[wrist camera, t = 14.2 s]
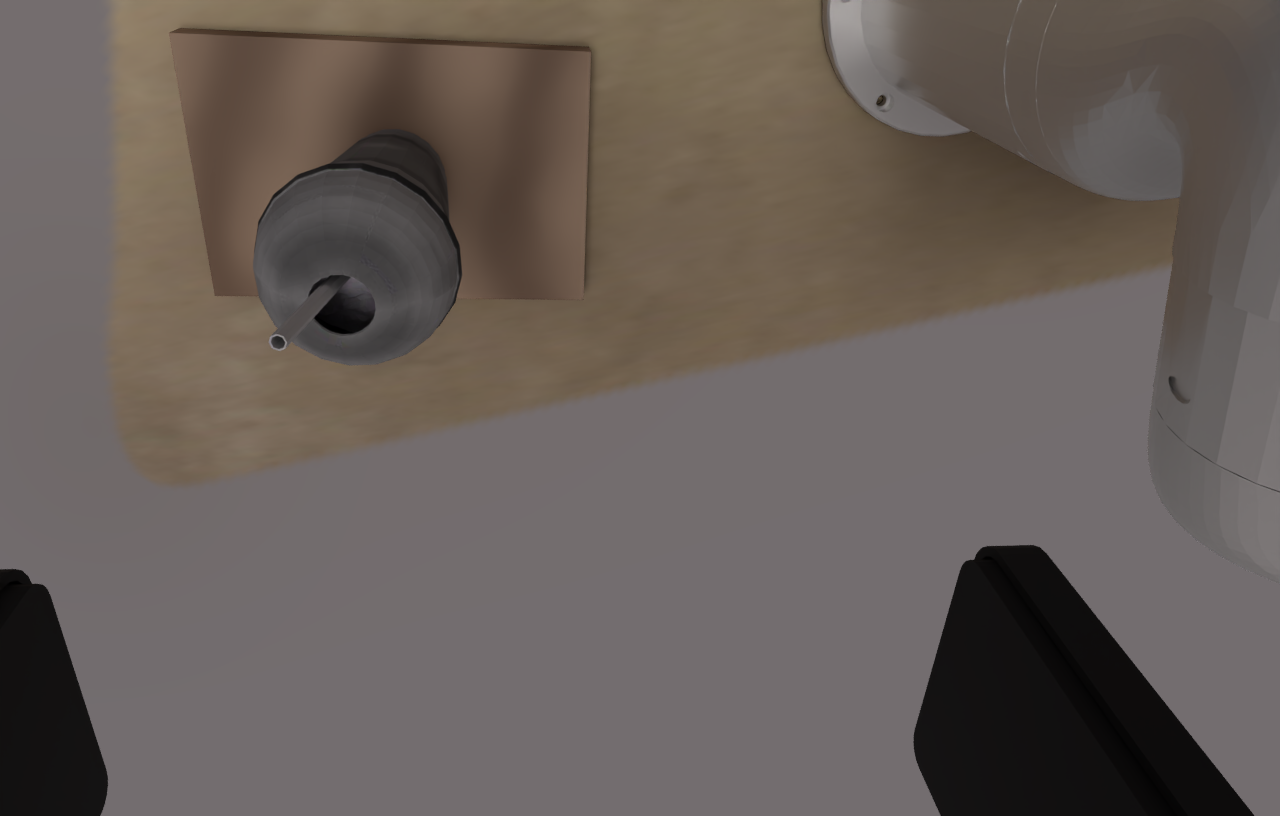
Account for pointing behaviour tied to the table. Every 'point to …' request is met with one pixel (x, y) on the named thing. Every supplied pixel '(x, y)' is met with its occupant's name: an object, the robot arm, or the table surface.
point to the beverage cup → (360, 252)
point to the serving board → (407, 100)
